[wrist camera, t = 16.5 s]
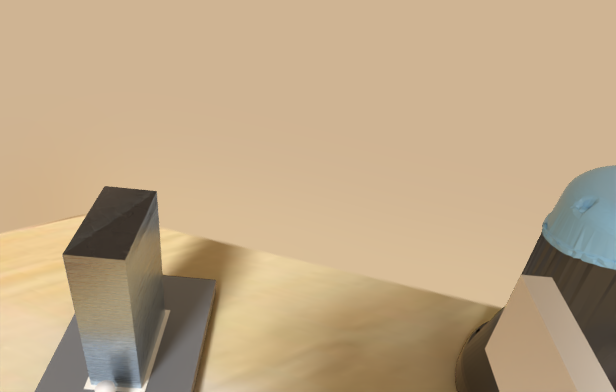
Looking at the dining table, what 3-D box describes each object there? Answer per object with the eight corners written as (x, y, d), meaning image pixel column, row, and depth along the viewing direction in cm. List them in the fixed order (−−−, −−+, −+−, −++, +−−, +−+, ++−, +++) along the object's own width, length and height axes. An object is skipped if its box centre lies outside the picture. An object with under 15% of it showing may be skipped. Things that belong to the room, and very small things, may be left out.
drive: (165, 313, 47) (156, 191, 39) (141, 388, 41) (125, 260, 33) (122, 309, 47) (104, 186, 39) (91, 384, 40) (62, 254, 32)
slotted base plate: (215, 290, 52) (216, 261, 50) (177, 463, 38) (175, 434, 35) (99, 279, 52) (94, 250, 50) (13, 452, 37) (1, 422, 35)
